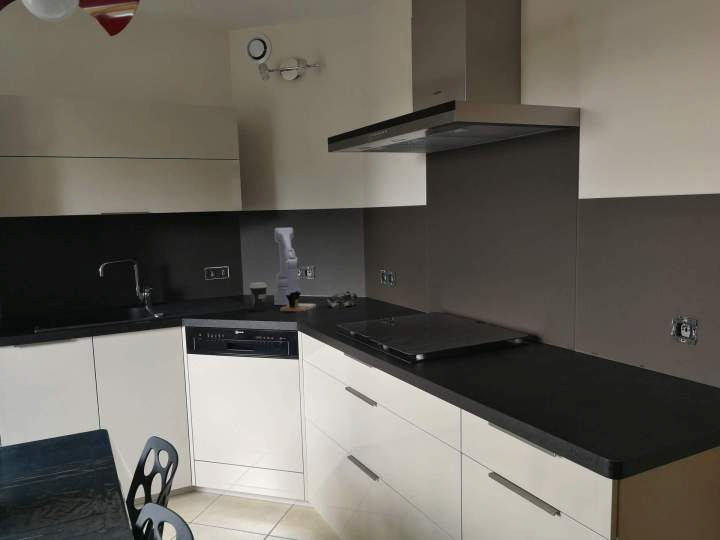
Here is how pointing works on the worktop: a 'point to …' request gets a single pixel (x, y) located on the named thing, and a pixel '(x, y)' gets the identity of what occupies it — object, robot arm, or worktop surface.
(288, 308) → the stub
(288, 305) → the pad
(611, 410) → the worktop surface
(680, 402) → the worktop surface
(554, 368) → the worktop surface
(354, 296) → the foil
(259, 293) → the coffee cup
